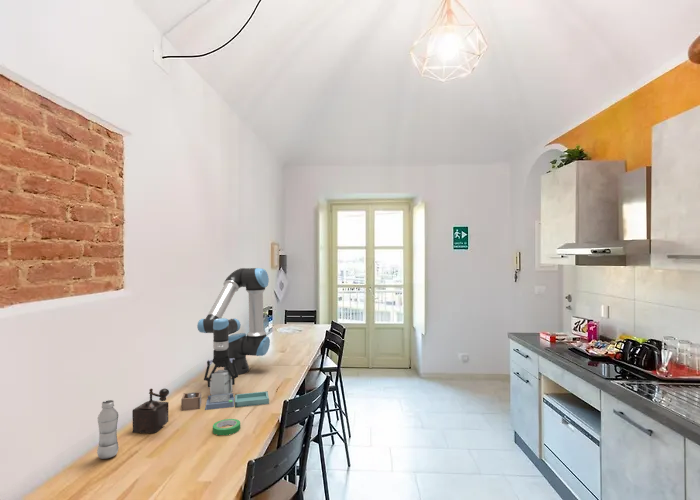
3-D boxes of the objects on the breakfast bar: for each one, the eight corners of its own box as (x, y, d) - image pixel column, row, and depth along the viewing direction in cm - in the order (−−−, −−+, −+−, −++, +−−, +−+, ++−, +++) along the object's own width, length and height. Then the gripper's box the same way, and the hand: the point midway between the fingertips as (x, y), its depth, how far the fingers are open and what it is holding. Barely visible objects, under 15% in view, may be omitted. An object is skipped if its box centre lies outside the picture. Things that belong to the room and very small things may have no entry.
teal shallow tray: (235, 399, 199) (235, 394, 199) (267, 396, 204) (267, 391, 204) (235, 407, 189) (234, 402, 189) (268, 403, 193) (268, 398, 193)
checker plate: (211, 398, 195) (211, 396, 195) (230, 396, 198) (230, 394, 198) (209, 404, 187) (209, 402, 187) (229, 402, 189) (229, 400, 189)
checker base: (207, 401, 197) (207, 394, 197) (234, 398, 200) (234, 391, 200) (204, 411, 184) (204, 403, 184) (233, 408, 188) (233, 400, 188)
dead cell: (188, 405, 190) (188, 392, 190) (196, 404, 191) (196, 392, 191) (187, 408, 187) (187, 395, 187) (195, 407, 187) (195, 394, 188)
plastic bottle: (103, 452, 147) (102, 399, 147) (122, 451, 147) (121, 398, 147) (93, 462, 140) (93, 405, 140) (113, 460, 141) (112, 404, 141)
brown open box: (183, 405, 192) (183, 393, 192) (201, 404, 194) (201, 391, 194) (181, 412, 184) (181, 399, 184) (199, 410, 186) (199, 397, 186)
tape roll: (218, 424, 171) (218, 418, 171) (243, 424, 171) (243, 418, 171) (208, 436, 160) (208, 429, 160) (235, 436, 160) (235, 429, 160)
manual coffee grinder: (130, 433, 163) (130, 389, 163) (146, 422, 174) (146, 381, 174) (165, 434, 161) (165, 390, 161) (180, 423, 172) (180, 381, 172)
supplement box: (224, 399, 199) (224, 374, 199) (211, 398, 201) (210, 373, 201) (231, 394, 207) (231, 370, 207) (218, 393, 208) (218, 369, 208)
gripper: (197, 352, 197) (197, 397, 197) (243, 349, 203) (243, 392, 203) (199, 348, 205) (199, 392, 204) (243, 345, 210) (243, 387, 210)
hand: (221, 392), depth 204 cm, fingers closed on supplement box, 9 cm apart
